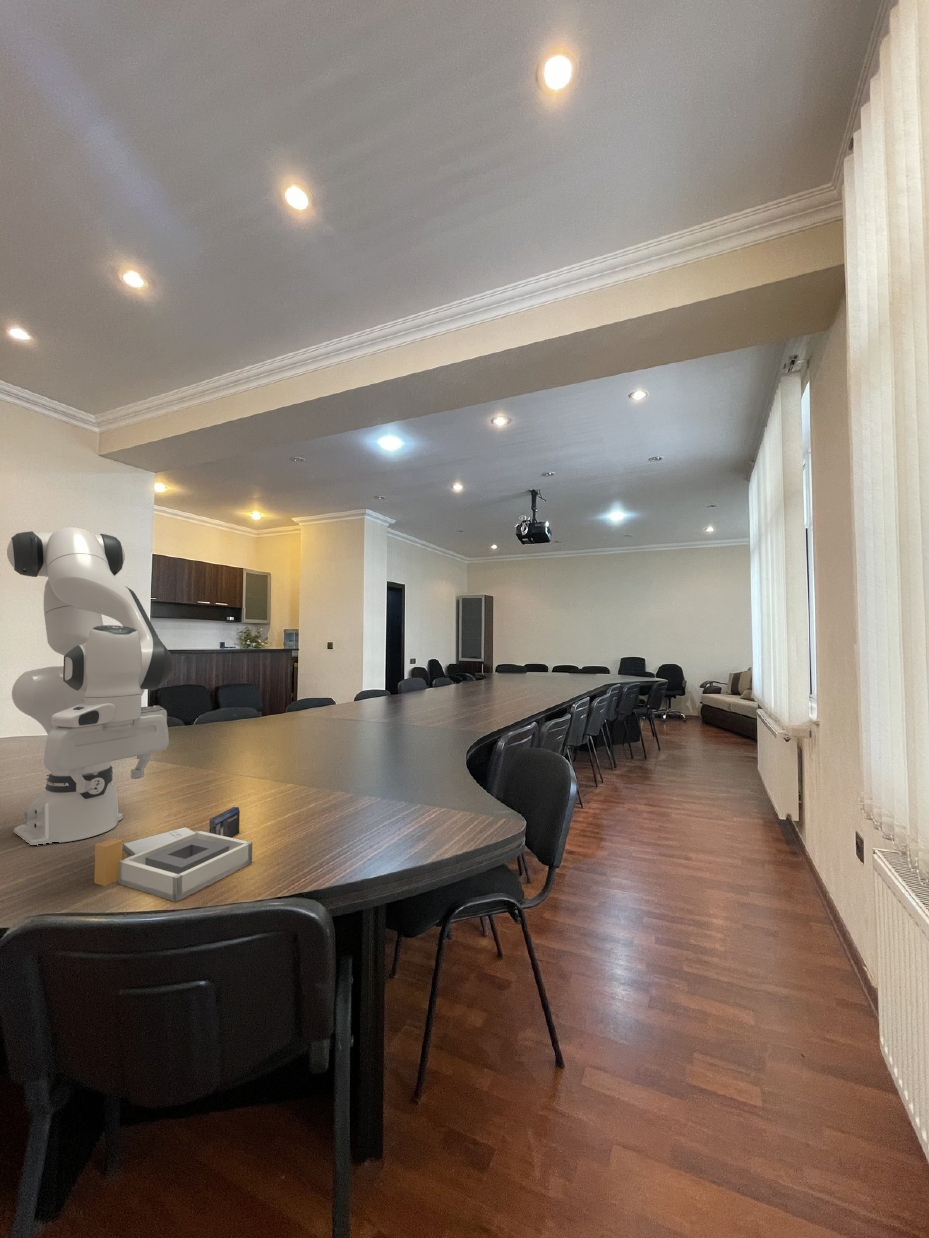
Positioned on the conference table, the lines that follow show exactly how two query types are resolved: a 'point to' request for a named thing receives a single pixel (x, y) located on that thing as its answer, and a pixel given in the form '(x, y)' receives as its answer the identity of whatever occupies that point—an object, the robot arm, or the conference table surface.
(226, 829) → the mini dv tape
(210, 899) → the conference table surface
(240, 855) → the walled box
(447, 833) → the conference table surface
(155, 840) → the external hard drive
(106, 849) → the tan rectangular block
